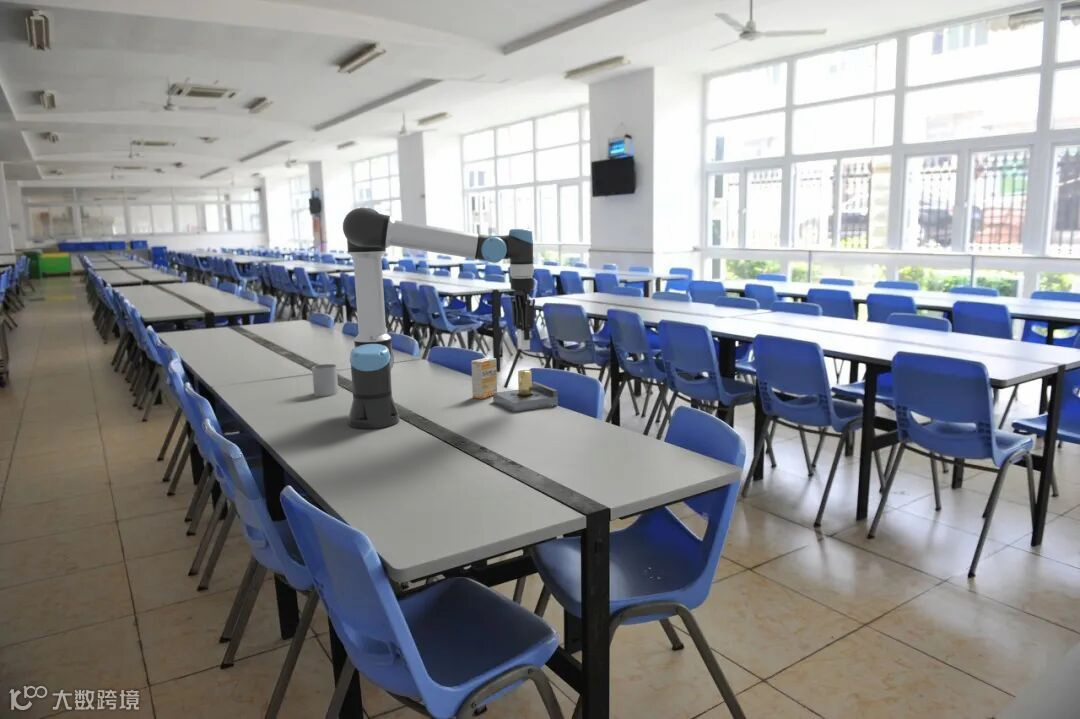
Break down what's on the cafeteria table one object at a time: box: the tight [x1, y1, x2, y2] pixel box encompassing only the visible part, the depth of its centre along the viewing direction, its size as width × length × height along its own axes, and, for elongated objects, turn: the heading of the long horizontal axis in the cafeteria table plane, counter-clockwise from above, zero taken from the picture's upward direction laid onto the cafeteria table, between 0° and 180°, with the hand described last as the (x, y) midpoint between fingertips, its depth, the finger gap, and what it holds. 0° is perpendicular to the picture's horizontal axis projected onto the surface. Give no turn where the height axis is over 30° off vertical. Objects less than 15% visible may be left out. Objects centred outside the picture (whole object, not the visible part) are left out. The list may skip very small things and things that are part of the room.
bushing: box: [517, 369, 533, 397], centre depth 248 cm, size 4×4×11 cm
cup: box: [311, 363, 339, 397], centre depth 269 cm, size 8×8×10 cm
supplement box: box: [471, 357, 498, 400], centre depth 260 cm, size 8×5×13 cm, turn 143°
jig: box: [492, 381, 559, 413], centre depth 249 cm, size 16×16×5 cm
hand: (523, 348), depth 246 cm, fingers open, 2 cm apart
